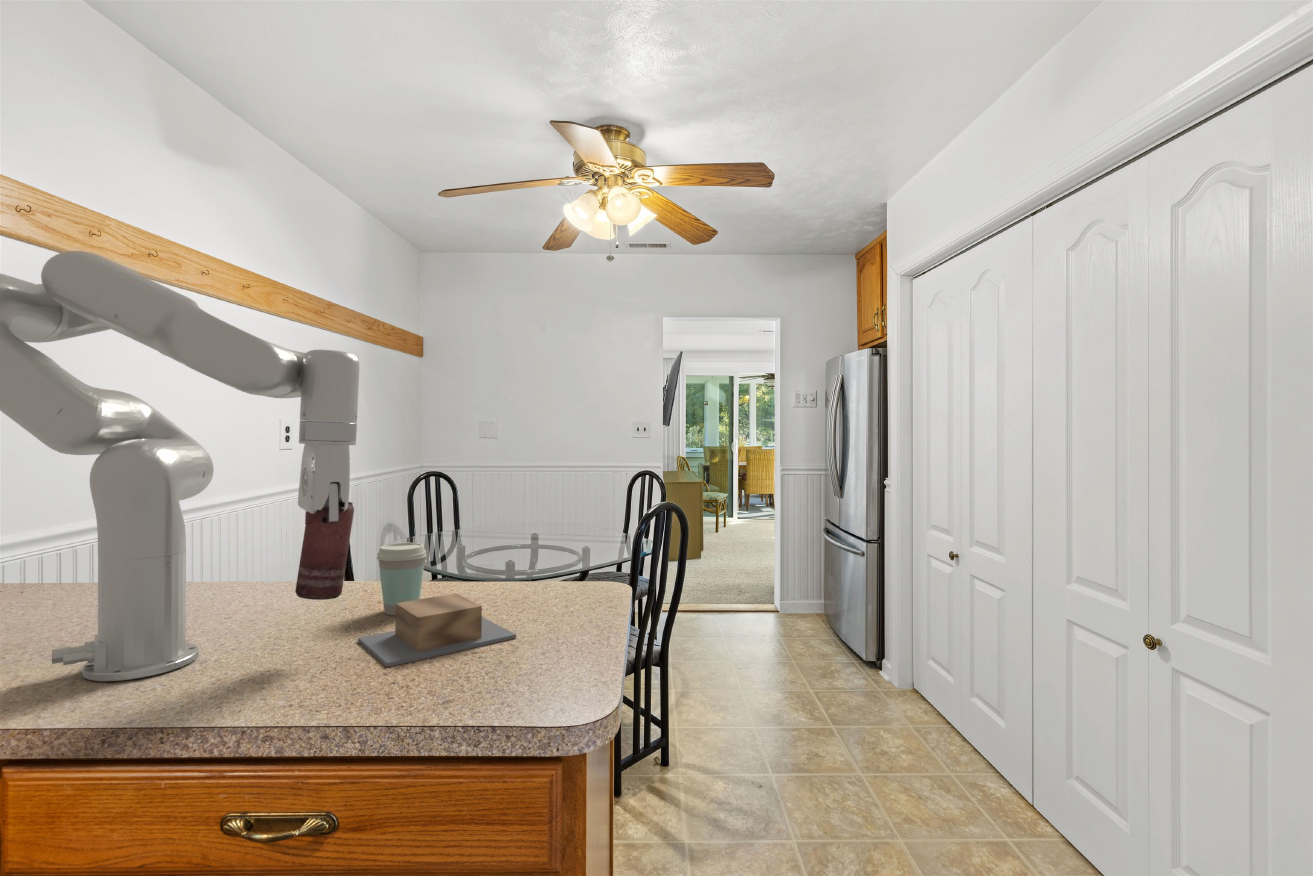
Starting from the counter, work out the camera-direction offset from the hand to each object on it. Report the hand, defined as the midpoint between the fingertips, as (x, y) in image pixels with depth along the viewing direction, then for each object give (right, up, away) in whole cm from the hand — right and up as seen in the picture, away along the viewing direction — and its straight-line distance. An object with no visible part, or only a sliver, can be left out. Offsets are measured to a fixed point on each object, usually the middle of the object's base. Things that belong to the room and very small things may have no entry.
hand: (322, 558), depth 93 cm
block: (+15, -14, +7) cm, 21 cm away
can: (0, -6, -1) cm, 6 cm away
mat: (+15, -14, +7) cm, 22 cm away
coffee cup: (+2, -14, +23) cm, 27 cm away
